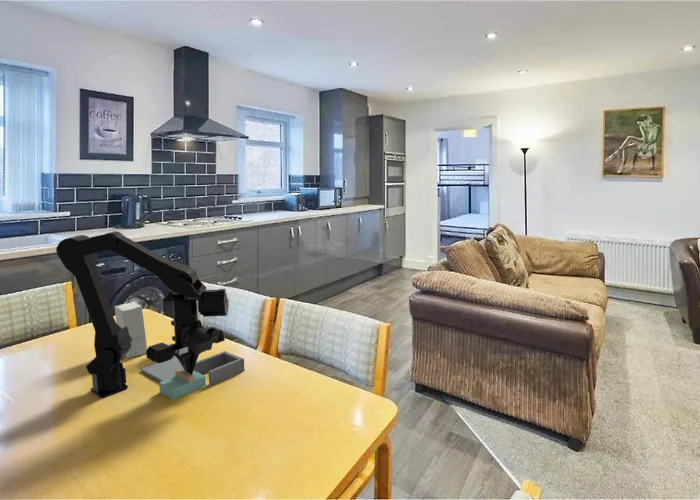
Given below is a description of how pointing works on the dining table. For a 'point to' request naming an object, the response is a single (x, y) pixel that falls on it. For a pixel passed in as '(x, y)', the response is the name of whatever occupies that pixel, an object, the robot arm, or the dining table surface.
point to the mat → (163, 369)
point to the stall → (220, 366)
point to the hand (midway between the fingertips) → (189, 375)
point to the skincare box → (132, 327)
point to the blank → (182, 384)
